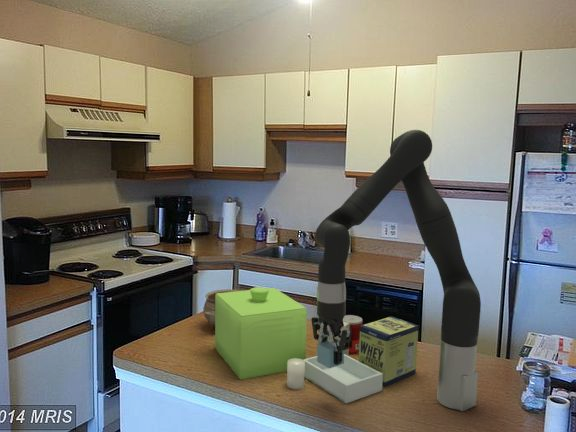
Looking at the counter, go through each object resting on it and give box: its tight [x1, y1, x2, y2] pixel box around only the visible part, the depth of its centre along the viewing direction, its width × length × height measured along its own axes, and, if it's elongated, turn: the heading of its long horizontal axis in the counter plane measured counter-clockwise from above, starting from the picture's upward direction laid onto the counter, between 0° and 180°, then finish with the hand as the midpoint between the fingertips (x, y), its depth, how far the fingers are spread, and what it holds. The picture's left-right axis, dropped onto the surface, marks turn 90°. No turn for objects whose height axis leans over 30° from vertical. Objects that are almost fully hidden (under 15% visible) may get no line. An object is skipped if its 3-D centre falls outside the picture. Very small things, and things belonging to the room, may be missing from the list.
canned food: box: [343, 314, 364, 355], centre depth 167 cm, size 8×8×11 cm
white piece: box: [286, 358, 305, 390], centre depth 140 cm, size 5×5×7 cm
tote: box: [304, 354, 383, 404], centre depth 143 cm, size 20×14×5 cm
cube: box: [316, 339, 344, 368], centre depth 130 cm, size 5×5×5 cm
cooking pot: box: [202, 288, 243, 326], centre depth 186 cm, size 25×19×12 cm
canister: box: [214, 286, 308, 381], centre depth 158 cm, size 25×21×23 cm
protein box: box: [358, 315, 419, 388], centre depth 149 cm, size 10×16×16 cm
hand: (330, 360), depth 130 cm, fingers closed on cube, 5 cm apart
